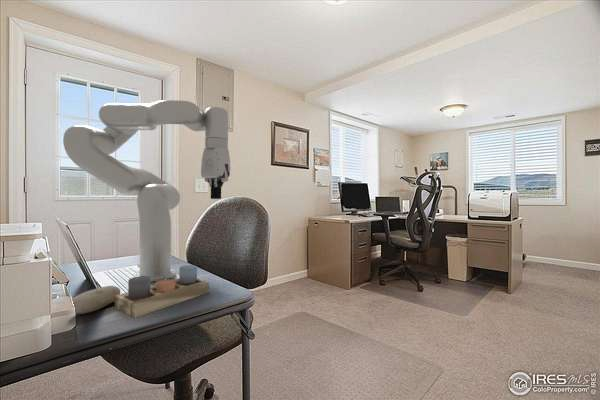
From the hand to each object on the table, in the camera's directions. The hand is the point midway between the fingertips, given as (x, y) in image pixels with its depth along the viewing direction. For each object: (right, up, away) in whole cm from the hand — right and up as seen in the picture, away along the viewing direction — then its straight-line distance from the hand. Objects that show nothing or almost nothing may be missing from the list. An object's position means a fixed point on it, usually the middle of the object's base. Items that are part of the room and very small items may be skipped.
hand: (215, 198), depth 98 cm
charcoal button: (-11, -24, -26) cm, 38 cm away
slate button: (-4, -24, -14) cm, 28 cm away
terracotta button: (-8, -27, -20) cm, 34 cm away
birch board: (-8, -28, -20) cm, 35 cm away
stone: (-22, -28, -27) cm, 44 cm away
